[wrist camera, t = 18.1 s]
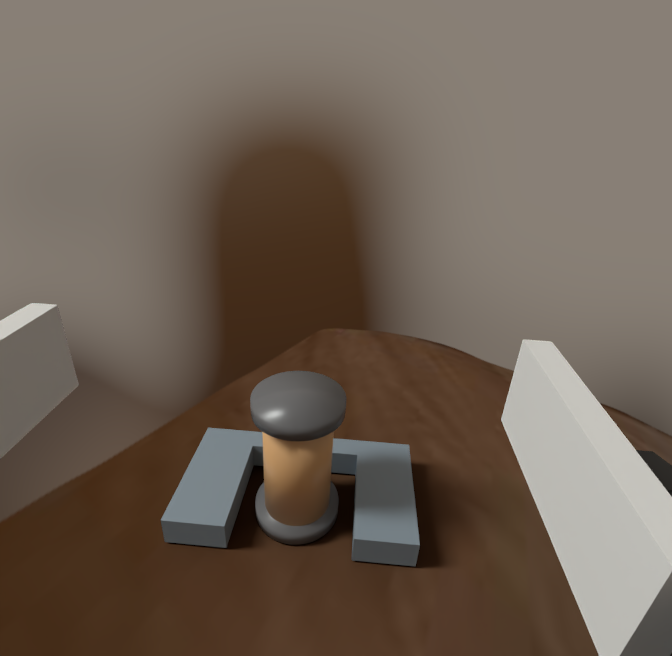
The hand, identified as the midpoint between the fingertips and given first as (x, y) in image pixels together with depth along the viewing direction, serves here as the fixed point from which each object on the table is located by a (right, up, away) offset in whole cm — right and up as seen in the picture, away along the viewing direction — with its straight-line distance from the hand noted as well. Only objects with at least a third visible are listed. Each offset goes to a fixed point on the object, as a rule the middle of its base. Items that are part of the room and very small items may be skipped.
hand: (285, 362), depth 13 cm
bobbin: (-2, -15, +26) cm, 30 cm away
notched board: (-2, -14, +27) cm, 30 cm away
